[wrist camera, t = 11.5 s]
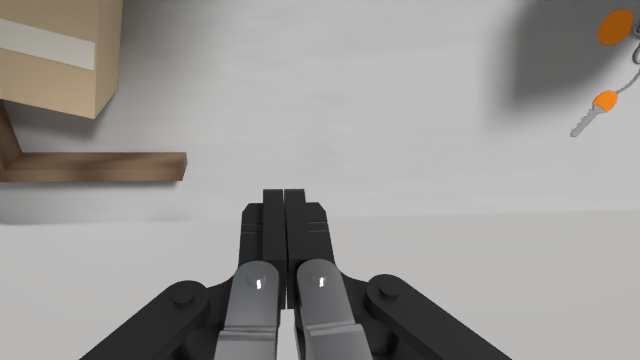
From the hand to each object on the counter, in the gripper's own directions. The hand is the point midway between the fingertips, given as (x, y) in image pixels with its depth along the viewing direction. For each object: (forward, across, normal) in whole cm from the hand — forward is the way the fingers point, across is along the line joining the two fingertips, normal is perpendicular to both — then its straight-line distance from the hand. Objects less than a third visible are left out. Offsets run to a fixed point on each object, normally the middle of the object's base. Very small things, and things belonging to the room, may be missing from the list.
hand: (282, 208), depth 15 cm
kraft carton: (+17, +14, -2) cm, 22 cm away
